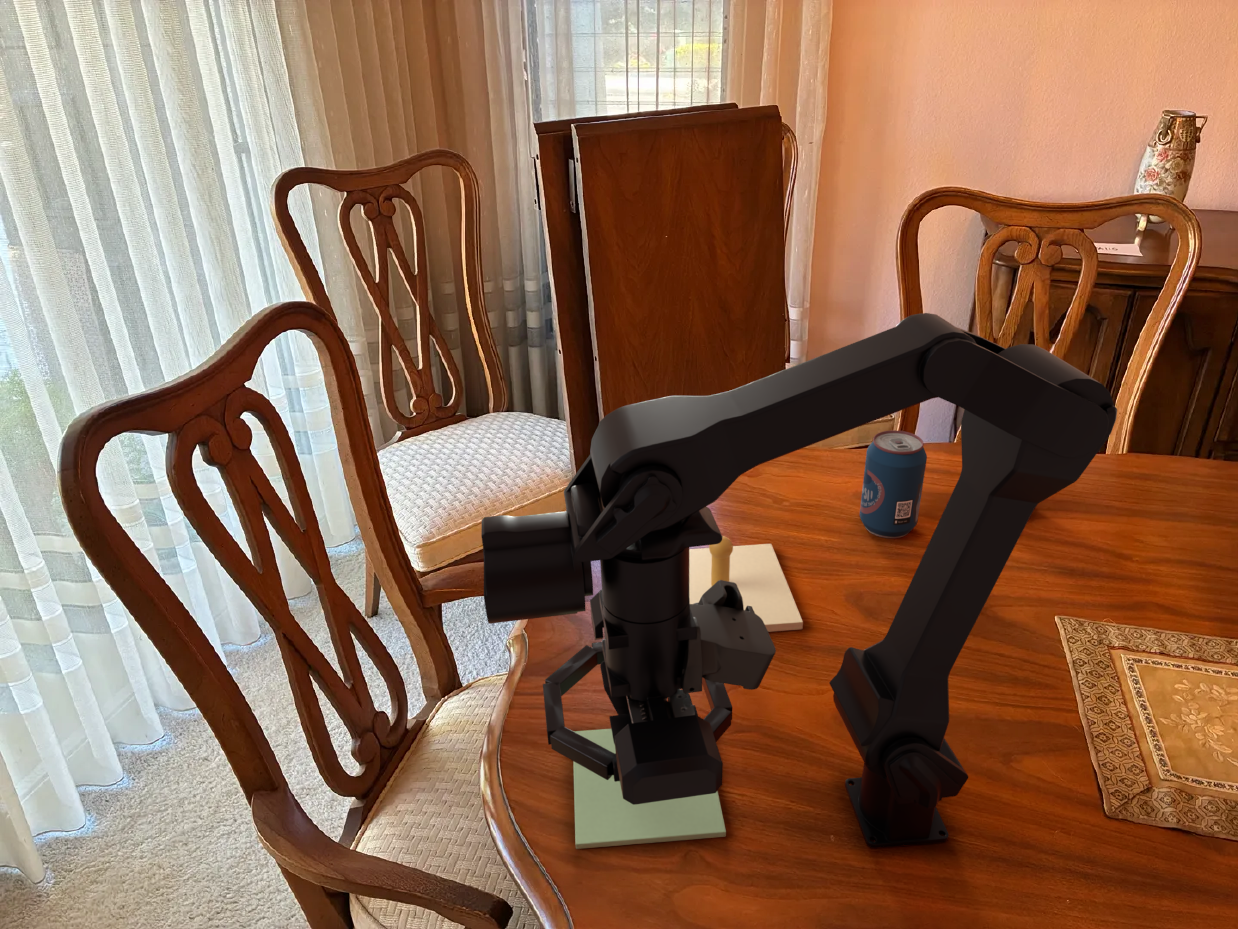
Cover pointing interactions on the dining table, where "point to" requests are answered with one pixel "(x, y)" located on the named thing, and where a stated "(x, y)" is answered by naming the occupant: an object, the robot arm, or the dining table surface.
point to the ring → (589, 751)
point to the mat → (636, 810)
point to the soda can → (893, 483)
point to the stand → (746, 580)
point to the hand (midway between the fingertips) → (651, 766)
